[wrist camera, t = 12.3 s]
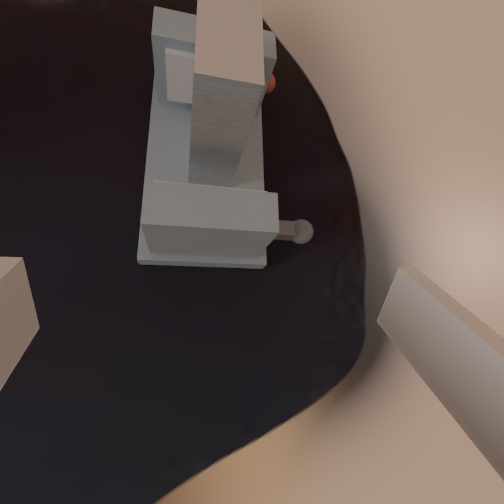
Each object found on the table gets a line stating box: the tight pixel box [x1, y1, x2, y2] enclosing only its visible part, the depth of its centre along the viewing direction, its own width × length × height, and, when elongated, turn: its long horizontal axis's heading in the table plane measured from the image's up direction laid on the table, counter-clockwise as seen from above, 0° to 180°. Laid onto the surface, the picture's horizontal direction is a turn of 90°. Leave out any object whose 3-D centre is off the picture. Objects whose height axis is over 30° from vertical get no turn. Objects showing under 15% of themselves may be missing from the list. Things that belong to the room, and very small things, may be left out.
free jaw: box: [141, 180, 313, 258], centre depth 24 cm, size 13×4×6 cm, turn 91°
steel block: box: [188, 0, 265, 187], centre depth 24 cm, size 4×8×12 cm, turn 1°
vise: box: [137, 6, 277, 269], centre depth 26 cm, size 12×21×8 cm, turn 1°
